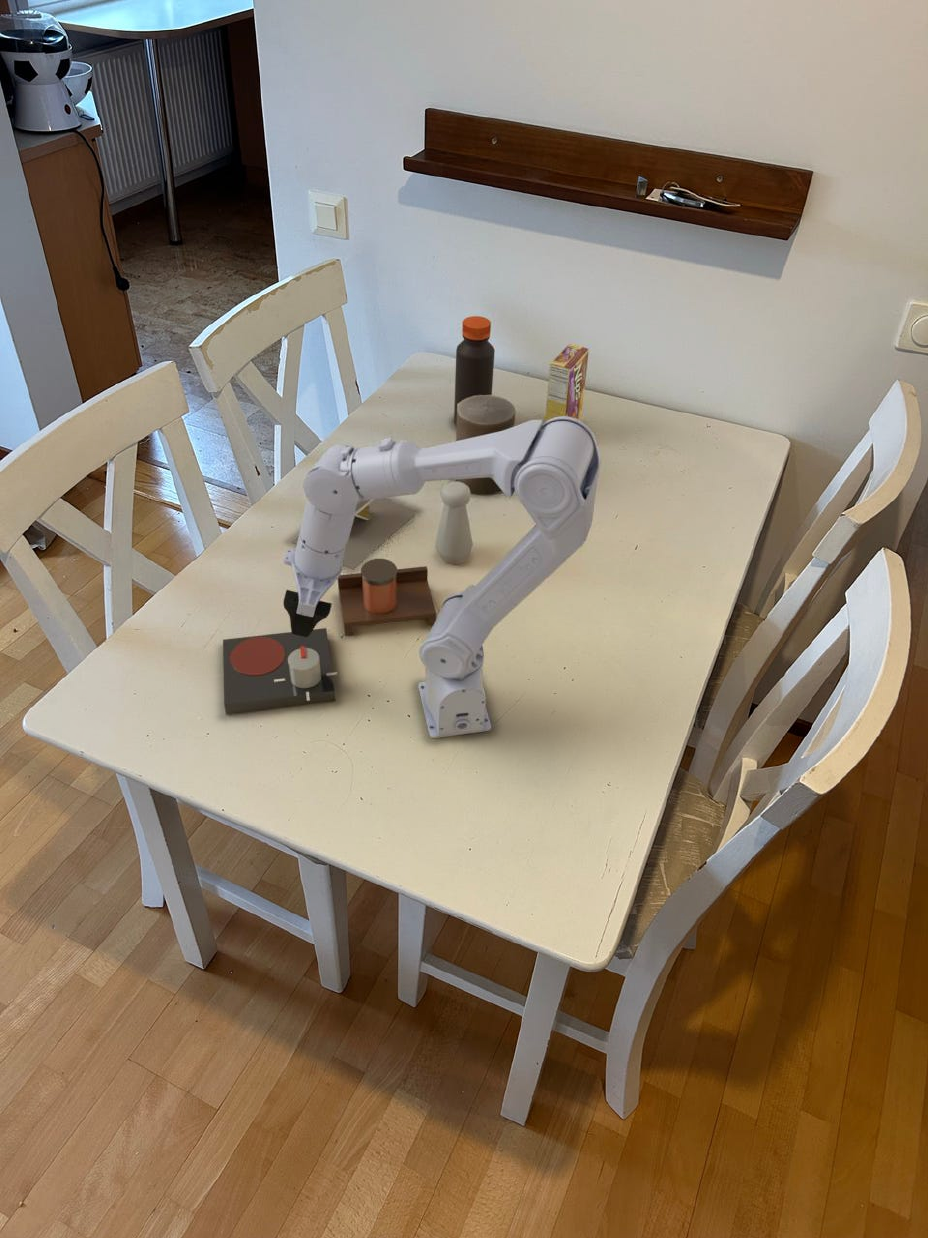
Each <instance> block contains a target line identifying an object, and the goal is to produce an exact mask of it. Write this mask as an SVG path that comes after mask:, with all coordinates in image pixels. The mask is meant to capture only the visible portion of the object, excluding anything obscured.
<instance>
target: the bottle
mask: <svg viewBox="0 0 928 1238" xmlns="http://www.w3.org/2000/svg"><path fill="white" fill-rule="evenodd" d="M461 330H462V331H461V333H462V338H463V340H462V341H461V342H459V344H458V345H457V346H456V350H455V379H454V407H453V408H454V409H453V411H454V412H453V424H454V426H455V427H456V426H457V407H458V406H457V404H458V403H460V402H461V401H462V400H464V399H466V398H469V397H472V396H478V395H493V383H494V366H495V365H494V364H495V348H494V346H493V344H491V342H490V341H489V340H490V338H491V330H492V322H491V320H490V319H489V318H486V317H485V316H479V315H473V316H472V315H471V316H468V317H466V318H464V319H463V320H462V329H461Z"/></svg>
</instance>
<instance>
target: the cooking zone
mask: <svg viewBox="0 0 928 1238" xmlns="http://www.w3.org/2000/svg"><path fill="white" fill-rule="evenodd" d="M284 658H285V650H284V648H283V646H282V645H281V644H280V643H279V642H278V641H276V640H274V639H271V638H267V637H255V638H250V639H247V640H245V641H243V642H241V643H239V644H238V645H237V646H236V647H235V648H234V649H233V651H232V653H231V656H230V662H231V665H232V666H233V668H234V669H235V670H236V671H238V672H240V673H242V674H245V675H250V676H259V675H264V674H267V673H270V672H272V671H274V670H275V669H277V668H278V667H279V666H280V665H281V664H282V662H283V661H284Z"/></svg>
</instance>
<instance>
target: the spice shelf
mask: <svg viewBox="0 0 928 1238" xmlns="http://www.w3.org/2000/svg"><path fill="white" fill-rule="evenodd" d="M428 573H429V572H428V567H427V565H425V566H416V567H406V568H397V605H396V606H395V608H394V609H393V610H391V611H389V612H387V613H373V612H370V611H368V610H367V609H366V608H365V607H364V604H363V589H362V577H361V572H358V573H348V574H340V576H339V578H338V579H337V588H338V601H339V607H340V613H341V618H342V626H343V631H344V636H354V628H360V627H368V626H377V625H378V626H379V625H386V624H395V623H403V622H411V621H422V620H425V621H426V625H427V627H433V625H434V623H435V621H436V619H437V610H436V607H435V602H434V599H433V595H432V591H431V588H430V585H429V581H428V576H429V575H428Z"/></svg>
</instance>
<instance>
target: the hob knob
mask: <svg viewBox="0 0 928 1238" xmlns="http://www.w3.org/2000/svg"><path fill="white" fill-rule="evenodd" d="M288 665H289V673H290V680H291V682H292V684H293V685H295V686H296V687H299V688H311V687H313V686H315V685H317V684H318V683H319V681H320V680H321V668H320V659H319V655H318V653H317V652H316V651H315V650H313V649H310V648H305V646H302V647H300V649H297V650H295V651H293V652H292V653H291V654H290V655H289V657H288Z"/></svg>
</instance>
